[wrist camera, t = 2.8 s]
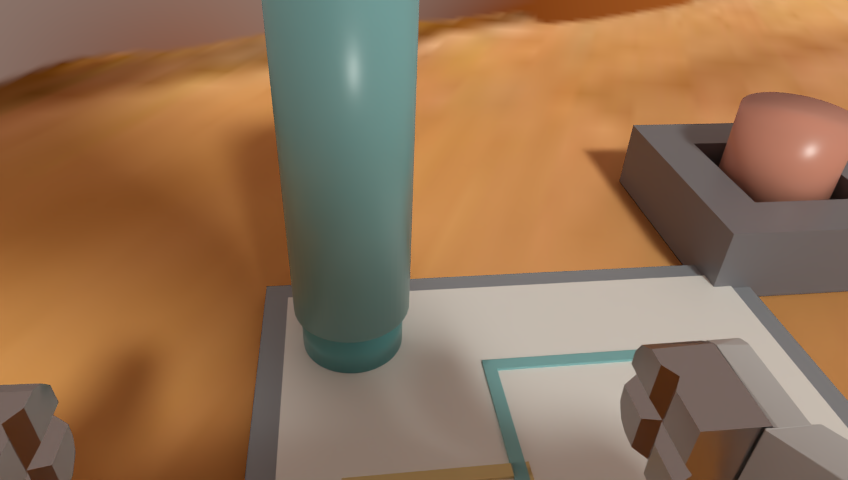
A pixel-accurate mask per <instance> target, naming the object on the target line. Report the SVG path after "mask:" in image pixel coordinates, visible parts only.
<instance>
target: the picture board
mask: <svg viewBox="0 0 848 480" xmlns="http://www.w3.org/2000/svg"><path fill="white" fill-rule="evenodd" d="M730 338H741V339H742V340H744V341H745V342H747V343H748V344H749V345H750V346H751V347H752V349H753V350H754V351H755V353H756V354H757V355H758V356H759V358H760V359H761V360H762V362H763V363H764V364H765V365H766V367H767V368H768V369H769V371H770V372H771V373H772V375H773V376H774V377H775V378H776V380H777V381H778V382H779V384H780V385H781V386H782V387H783V389H784V390H785V391H786V393H787V394H788V395H789V397H790V398H791V399H792V400H793V402H794V403H795V404H796V406H797V407H798V408H799V409H800V411H801V412H802V413H803V415H804V416H805V417H806V419H807V420H808V421H809V422H810V424H811V425H815V424H822V425H824V426H825V427H827V428H829V429H830V430H832V431H834V432H835V433H837V434H839V435H840V436H842V437H844V438H845V439H847V440H848V401H847V400H846V398H845V397H844V396H843V395H842V394H841V393H840V391H839V390H838V389H837V388H836V387H835V386H834V384H833V383H832V382H831V381H830V380H829V379H828V377H827V376H826V375H825V374H824V373H823V372H822V370H821V369H820V368H819V367H818V366H817V365H816V363H815V362H814V361H813V360H812V359H811V358H810V356H809V355H808V354H807V353H806V352H805V351H804V349H803V348H802V347H801V346H800V345H799V344H798V343H797V341H796V340H795V339H794V338H793V337H792V336H791V334H790V333H789V332H788V331H787V330H786V329H785V327H784V326H783V325H782V324H781V323H780V322H779V320H778V319H777V318H776V317H775V316H774V315H773V313H772V312H771V311H770V310H769V309H768V308H767V306H766V305H765V304H764V303H763V302H762V301H761V299H760V298H759V297H758V296H757V295H756V294H755V292H754V291H753V290H752V289H751V288H750V287H739V288H732V287H731V286H721V287H713V285H712V284H711V283H710V282H709V280H708V279H707V278H706V277H705V275H702V274H701V273H700V272H699V271H698V269H697V268H696V267H695V265H681V266H661V267H641V268H621V269H602V270H582V271H562V272H542V273H522V274H503V275H483V276H463V277H443V278H423V279H410V292H409V309H408V312H407V315H406V316H405V318H404V320H403V321H402V341H401V345H400V348H399V350H398V352H397V353H396V354H395V356H394V357H393V358H392V359H391V360H390V361H388V362H387V363H386V364H384V365H382V366H380V367H378V368H376V369H373V370H370V371H367V372H362V373H339V372H334V371H331V370H328V369H326V368H323V367H321V366H320V365H318V364H317V363H315V362H314V361H313V360H312V359H311V358H310V357H309V355H308V354H307V352H306V350H305V346H304V339H303V328H302V325H301V324H300V323H299V321H298V320H297V318H296V316H295V312H294V304H293V295H292V285H285V286H267V289H266V298H265V307H264V316H263V324H262V333H261V342H260V351H259V359H258V368H257V377H256V386H255V394H254V403H253V412H252V421H251V429H250V438H249V447H248V456H247V464H246V473H245V480H646V478H645V475H644V470H645V466H646V462H647V459H646V458H645V457H644V456H643V455H641V454H640V453H639V452H637V451H636V450H635V449H633V448H632V447H631V445H630V443H629V441H628V439H627V436H626V434H625V432H624V428H623V424H622V420H621V409H620V399H621V395H622V392H623V388H624V384H626V383H627V382H628V381H629V380H630V379H631V378H633V377H634V376H635V375H636V372H635V370H634V368H633V366H632V364H631V363H632V360H633V357H634V354H635V351H636V350H637V349H638V348H639V347H640V346H641V345H647V344H660V343H673V342H687V341H700V340H702V341H706V340H716V339H730Z"/></svg>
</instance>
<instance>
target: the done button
mask: <svg viewBox="0 0 848 480" xmlns="http://www.w3.org/2000/svg"><path fill="white" fill-rule="evenodd" d="M847 161H848V111H847V110H845V109H843V108H841V107H838V106H836V105H833V104H831V103H828V102H825V101H822V100H819V99H815V98H811V97H807V96H802V95H796V94H790V93H779V92H762V93H755V94H751V95H748V96H746V97H744V98H743V99H742V101H741V103H740V106H739V109H738V112H737V115H736V118H735V121H734V124H733V126H732V129H731V132H730V135H729V138H728V141H727V144H726V147H725V150H724V152H723V155H722V158H721V161H720V164H719V168H720V169H721V170H722V171H723V172H724V173H725V174H726V175H727V176H728V177H729V178H730V179H731V180H732V181H733V182H734V183H735V184H736V185H737V186H739V187H740V188H741V189H742V190H743V191H744V192H745V193H746V194H747V195H748V196H749V197H750V198H751V199H752V200H753V201H754V202H781V201H808V200H829V199H830V197H831V195H832V193H833V191H834V189H835V186H836V184H837V182H838V180H839V178H840V176H841V174H842V172H843V170H844V168H845V165H846V163H847Z"/></svg>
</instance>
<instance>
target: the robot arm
mask: <svg viewBox="0 0 848 480" xmlns="http://www.w3.org/2000/svg"><path fill="white" fill-rule="evenodd" d="M631 364H632V366H633V368H634V370H635V372H636V375H635V376H634V377H633V378H631V379H630V380H629V381H628V382H627V383H626V384H624V388H623V392H622V395H621V399H620V409H621V420H622V424H623V428H624V432H625V434H626V436H627V439H628V441H629V443H630V445H631V447H632V448H633V449H635V450H636V451H637V452H639V453H640V454H641V455H643V456H644V457H645V458H646V459H647V462H646V466H645V470H644V475H645V478H646V480H848V440H847V439H845V438H844V437H842V436H840V435H839V434H837V433H835V432H834V431H832V430H830V429H829V428H827V427H825V426H824V425H822V424H815V425H811V424H810V422H809V421H808V420H807V419H806V417H805V416H804V415H803V413H802V412H801V411H800V409H799V408H798V407H797V406H796V404H795V403H794V402H793V400H792V399H791V398H790V397H789V395H788V394H787V393H786V391H785V390H784V389H783V387H782V386H781V385H780V384H779V382H778V381H777V380H776V378H775V377H774V376H773V375H772V373H771V372H770V371H769V369H768V368H767V367H766V365H765V364H764V363H763V362H762V360H761V359H760V358H759V356H758V355H757V354H756V353H755V351H754V350H753V349H752V347H751V346H750V345H749V344H748V343H747V342H745V341H744V340H742V339H741V338H730V339H716V340H706V341H702V340H700V341H687V342H673V343H660V344H647V345H641V346H640V347H639V348H638V349H637V350H636V351H635V354H634V357H633V360H632V363H631ZM57 404H58V400H57V398H56V396H55V394H54V392H53V390H52V388H51V386H50V385H47V384H18V385H0V480H71V478H72V475H73V469H74V460H75V446H74V439H73V435H72V432H71V430H70V428H69V425H68V424H67V423H65V422H64V421H62V420H60V419H59V418H57V417H55V416H54V415H53V414H54V411H55V409H56V407H57Z"/></svg>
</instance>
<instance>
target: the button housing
mask: <svg viewBox="0 0 848 480" xmlns="http://www.w3.org/2000/svg"><path fill="white" fill-rule="evenodd" d="M733 124H734V123H722V124H673V125H633V129H632V133H631V137H630V141H629V145H628V149H627V153H626V157H625V161H624V165H623V169H622V173H621V177H620V182H621V184H622V185H623V186H624V188H625V189H626V190H627V192H628V193H629V194H630V196H631V197H632V198H633V200H634V201H635V202H636V204H637V205H638V206H639V208H640V209H641V210H642V211H643V213H644V214H645V215H646V217H647V218H648V219H649V221H650V222H651V223H652V225H653V226H654V227H655V229H656V230H657V231H658V233H659V234H660V235H661V237H662V238H663V239H664V241H665V242H666V243H667V244H668V246H669V247H670V248H671V250H672V251H673V252H674V254H675V255H676V256H677V258H678V259H679V260H680V262H681V263H682V264H683V265H695V267H696V268H697V269H698V271H699V272H700V273H701V274H702V275H705V277H706V278H707V279H708V280H709V282H710V283H711V284H712V285H713V287H721V286H731V287H732V288H739V287H750V288H751V289H752V290H753V291H754V292H755V294H756V295H757V296H772V295H789V294H806V293H824V292H841V291H848V161H847V163H846V165H845V168H844V170H843V172H842V174H841V176H840V178H839V180H838V182H837V184H836V186H835V189H834V191H833V193H832V195H831V197H830V199H829V200H808V201H781V202H754V201H753V200H752V199H751V198H750V197H749V196H748V195H747V194H746V193H745V192H744V191H743V190H742V189H741V188H740V187H739V186H737V185H736V184H735V183H734V182H733V181H732V180H731V179H730V178H729V177H728V176H727V175H726V174H725V173H724V172H723V171H722V170H721V169H720V168H719V164H720V161H721V158H722V155H723V152H724V150H725V147H726V144H727V141H728V138H729V135H730V132H731V129H732V126H733Z"/></svg>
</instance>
